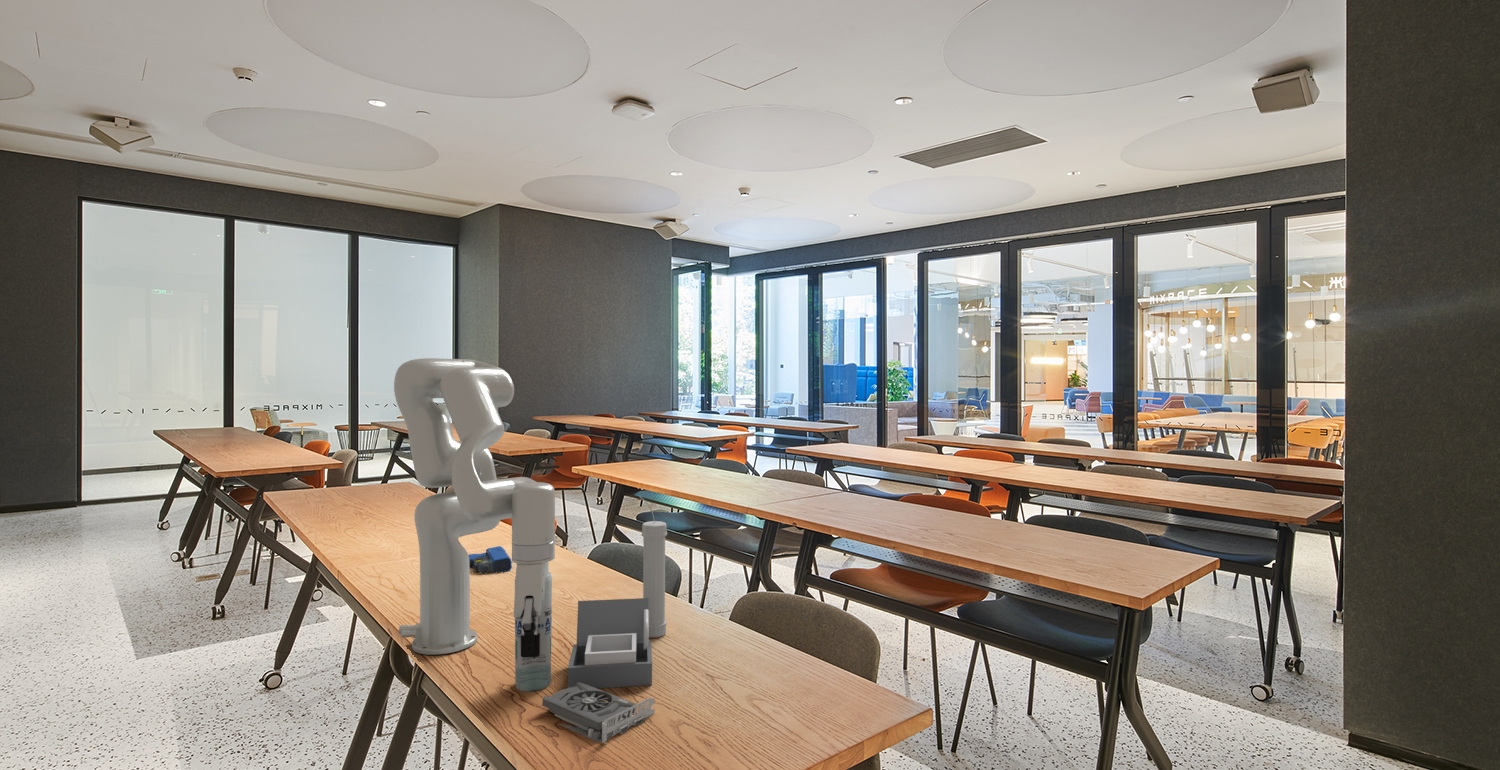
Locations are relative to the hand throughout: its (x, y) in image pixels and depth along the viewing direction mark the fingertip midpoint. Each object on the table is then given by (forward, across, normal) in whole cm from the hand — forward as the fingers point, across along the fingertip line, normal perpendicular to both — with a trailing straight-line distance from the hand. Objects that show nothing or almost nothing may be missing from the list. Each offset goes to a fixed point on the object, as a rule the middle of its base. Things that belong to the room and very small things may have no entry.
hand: (533, 647), depth 129 cm
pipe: (+7, -22, +22) cm, 32 cm away
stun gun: (+7, -81, -26) cm, 86 cm away
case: (+7, -4, +14) cm, 16 cm away
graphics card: (+7, +13, +12) cm, 20 cm away
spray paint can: (+7, 0, 0) cm, 7 cm away
